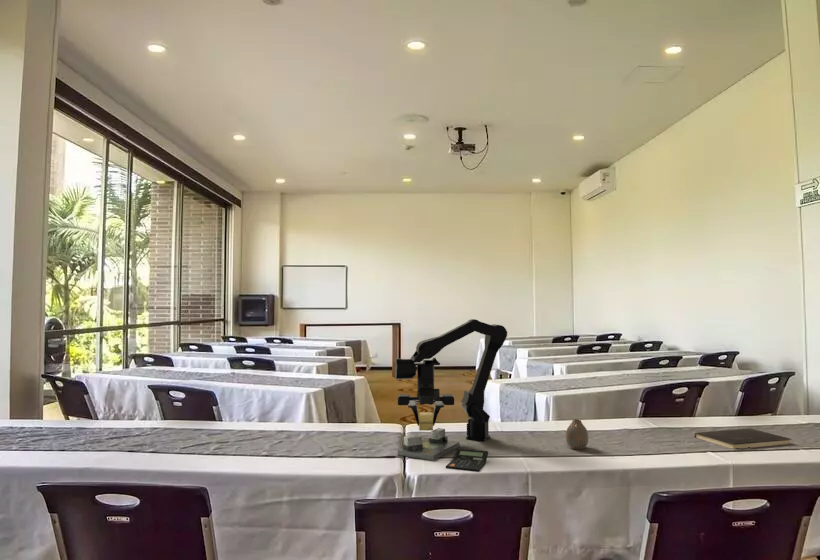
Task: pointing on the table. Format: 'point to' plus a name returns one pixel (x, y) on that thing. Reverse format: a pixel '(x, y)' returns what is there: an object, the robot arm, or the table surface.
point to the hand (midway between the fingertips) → (425, 425)
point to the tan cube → (425, 421)
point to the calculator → (468, 460)
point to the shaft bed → (427, 445)
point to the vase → (577, 435)
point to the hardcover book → (742, 438)
